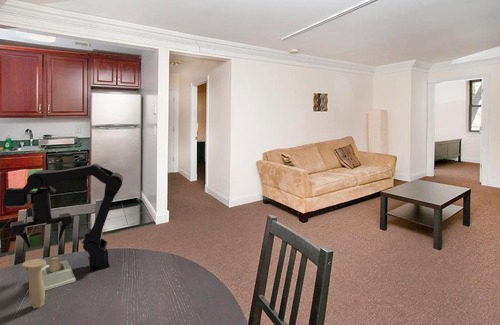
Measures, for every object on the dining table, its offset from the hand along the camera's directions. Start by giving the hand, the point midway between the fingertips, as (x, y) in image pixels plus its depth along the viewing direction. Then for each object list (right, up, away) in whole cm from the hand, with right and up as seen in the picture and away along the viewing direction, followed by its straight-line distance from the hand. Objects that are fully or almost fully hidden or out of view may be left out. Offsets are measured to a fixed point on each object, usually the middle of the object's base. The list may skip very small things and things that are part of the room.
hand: (44, 244), depth 109 cm
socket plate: (+6, -13, -2) cm, 14 cm away
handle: (+10, -15, -16) cm, 24 cm away
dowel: (+6, -13, -2) cm, 14 cm away
